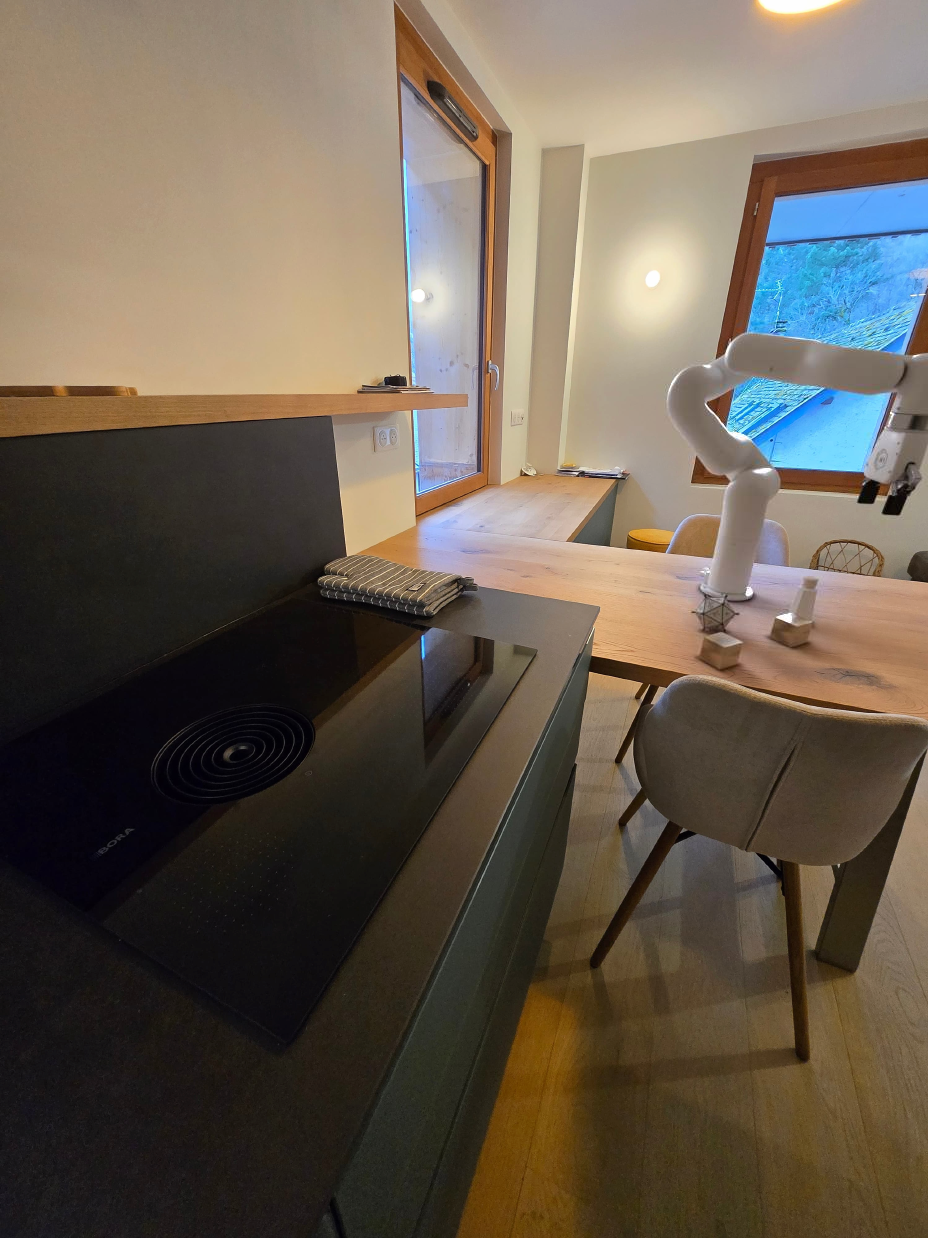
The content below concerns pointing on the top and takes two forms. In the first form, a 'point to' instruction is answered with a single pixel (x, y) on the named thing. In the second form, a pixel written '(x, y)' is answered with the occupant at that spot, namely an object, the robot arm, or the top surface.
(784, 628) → the maple block
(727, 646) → the maple block
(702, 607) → the clear faceted polyhedron
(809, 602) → the salt shaker
